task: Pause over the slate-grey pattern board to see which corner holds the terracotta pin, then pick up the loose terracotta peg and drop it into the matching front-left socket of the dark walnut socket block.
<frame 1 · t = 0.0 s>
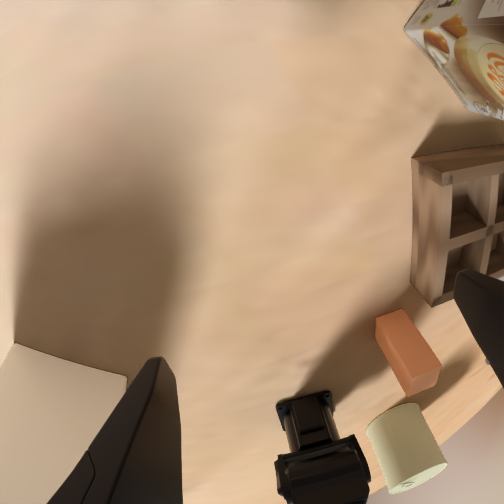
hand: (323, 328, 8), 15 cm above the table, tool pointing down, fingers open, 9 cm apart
gable box: (74, 411, 32), on the table
socket block: (462, 211, 25), on the table
peg: (388, 323, 30), on the table
coffee box: (453, 49, 18), on the table
can: (392, 419, 41), on the table
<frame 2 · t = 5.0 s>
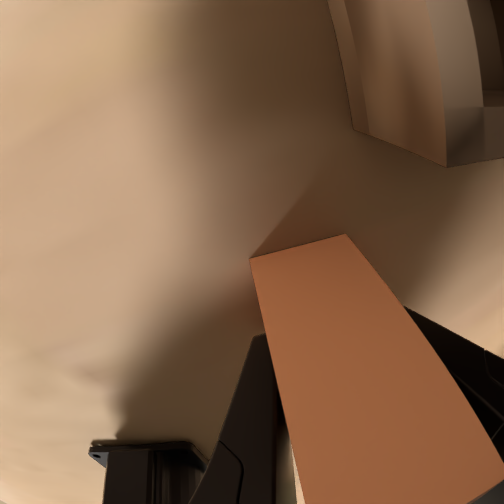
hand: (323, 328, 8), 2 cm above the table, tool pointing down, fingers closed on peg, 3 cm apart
peg: (305, 286, 10), on the table, touching gripper
when the fingers open (5 cm above the table, at t = 8.4 s): peg drops 2 cm, resting on socket block.
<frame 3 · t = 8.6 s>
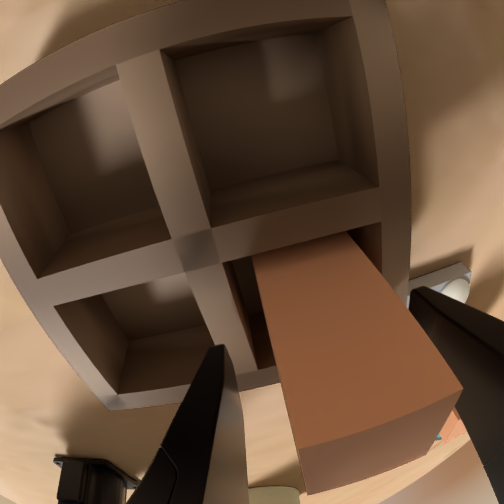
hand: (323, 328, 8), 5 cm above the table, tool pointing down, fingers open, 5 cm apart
socket block: (200, 198, 11), on the table
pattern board: (396, 338, 17), on the table
peg: (292, 255, 12), point 1 cm above the table, touching socket block
can: (257, 496, 28), on the table
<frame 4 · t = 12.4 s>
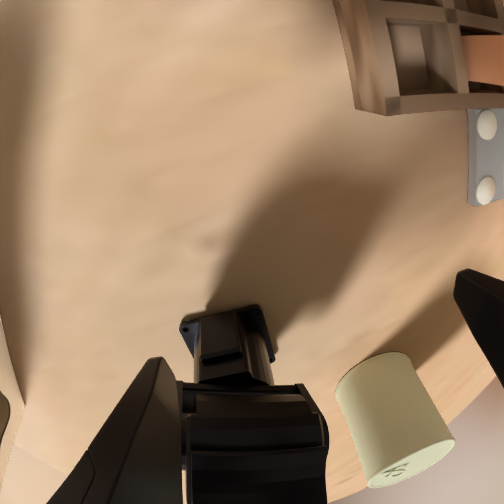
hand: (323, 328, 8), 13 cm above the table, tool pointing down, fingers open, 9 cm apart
socket block: (414, 21, 15), on the table
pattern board: (498, 151, 20), on the table
peg: (458, 59, 16), point 1 cm above the table, touching socket block
can: (373, 379, 32), on the table
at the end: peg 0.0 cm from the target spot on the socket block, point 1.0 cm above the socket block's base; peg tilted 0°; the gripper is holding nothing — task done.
